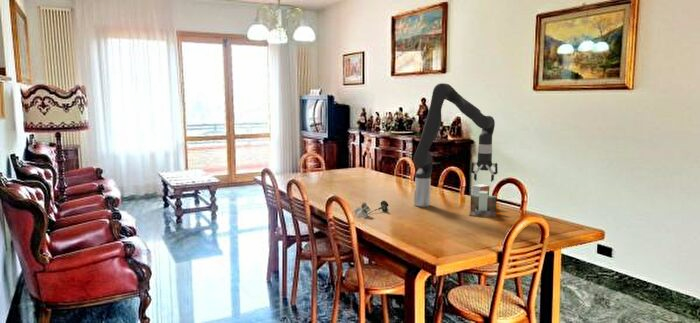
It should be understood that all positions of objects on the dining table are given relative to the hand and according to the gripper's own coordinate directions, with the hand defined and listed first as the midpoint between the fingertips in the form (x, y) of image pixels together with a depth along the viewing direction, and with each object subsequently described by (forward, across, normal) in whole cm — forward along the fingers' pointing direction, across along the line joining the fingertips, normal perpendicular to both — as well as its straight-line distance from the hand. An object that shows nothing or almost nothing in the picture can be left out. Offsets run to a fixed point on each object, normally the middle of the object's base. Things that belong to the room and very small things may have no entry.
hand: (483, 181), depth 265 cm
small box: (+19, -2, +20) cm, 28 cm away
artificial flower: (+20, -60, -17) cm, 65 cm away
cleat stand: (+19, 0, 0) cm, 19 cm away
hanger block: (+18, 0, 0) cm, 18 cm away
